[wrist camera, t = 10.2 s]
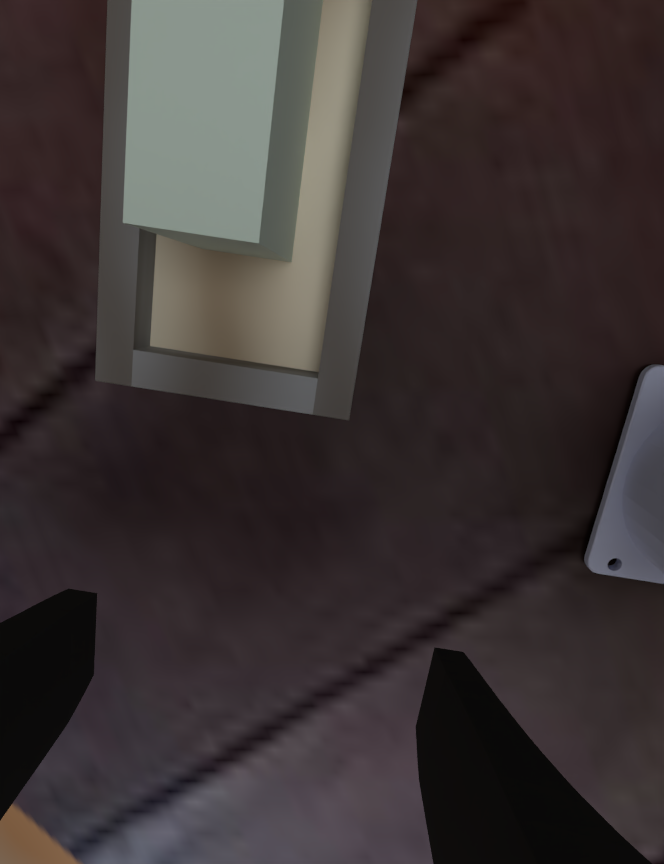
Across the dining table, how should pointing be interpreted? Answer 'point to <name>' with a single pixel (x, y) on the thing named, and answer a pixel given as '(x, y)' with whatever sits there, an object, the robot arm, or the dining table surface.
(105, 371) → the grey shallow tray
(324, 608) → the dining table surface
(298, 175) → the grey-green rectangular block
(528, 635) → the dining table surface
